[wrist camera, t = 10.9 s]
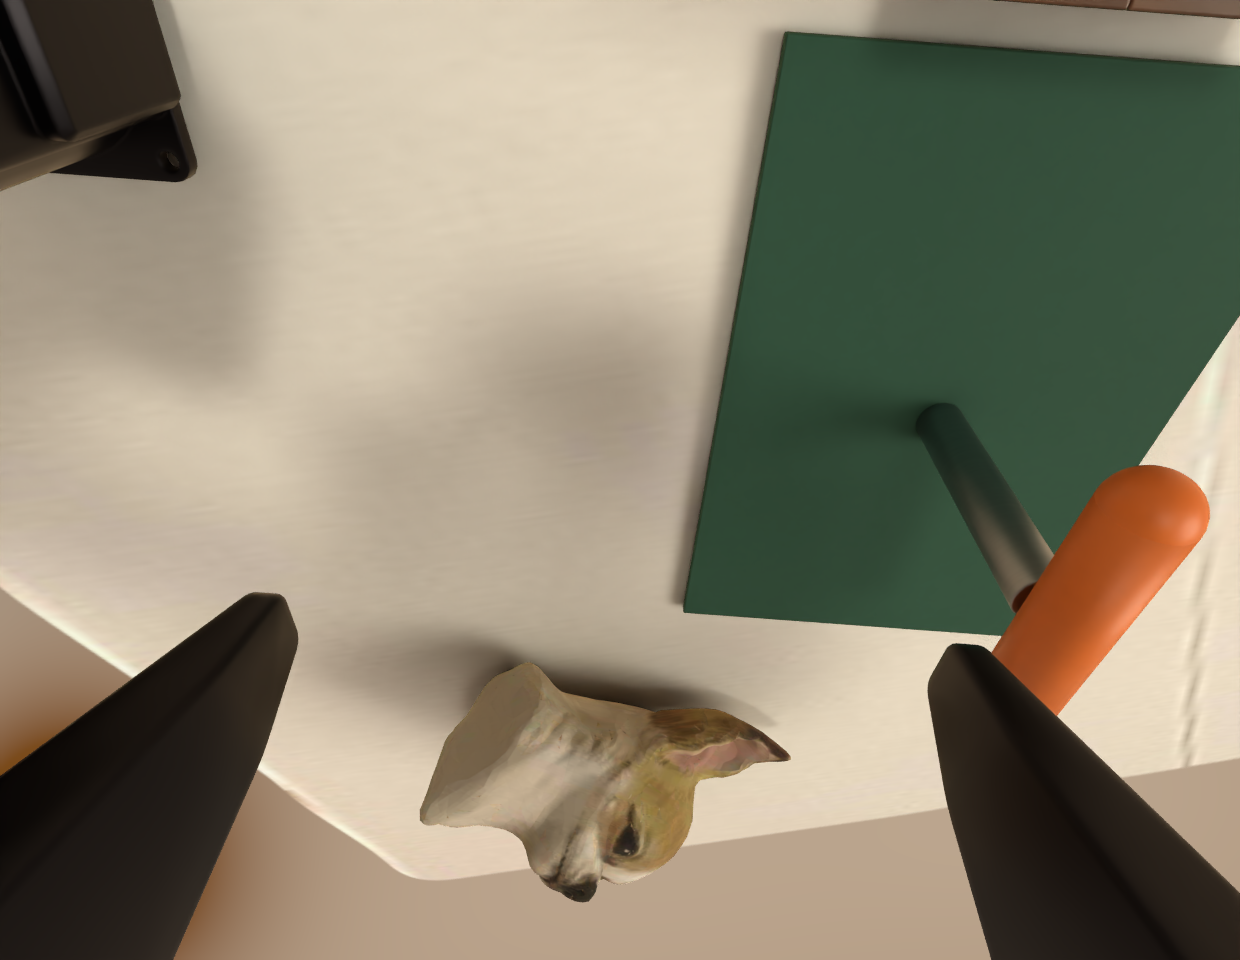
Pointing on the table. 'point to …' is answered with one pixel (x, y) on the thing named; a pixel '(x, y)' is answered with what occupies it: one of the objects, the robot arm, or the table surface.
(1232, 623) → the table surface
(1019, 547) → the t handle
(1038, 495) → the cutting mat
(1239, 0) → the rack
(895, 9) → the table surface
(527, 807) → the ceramic sculpture
